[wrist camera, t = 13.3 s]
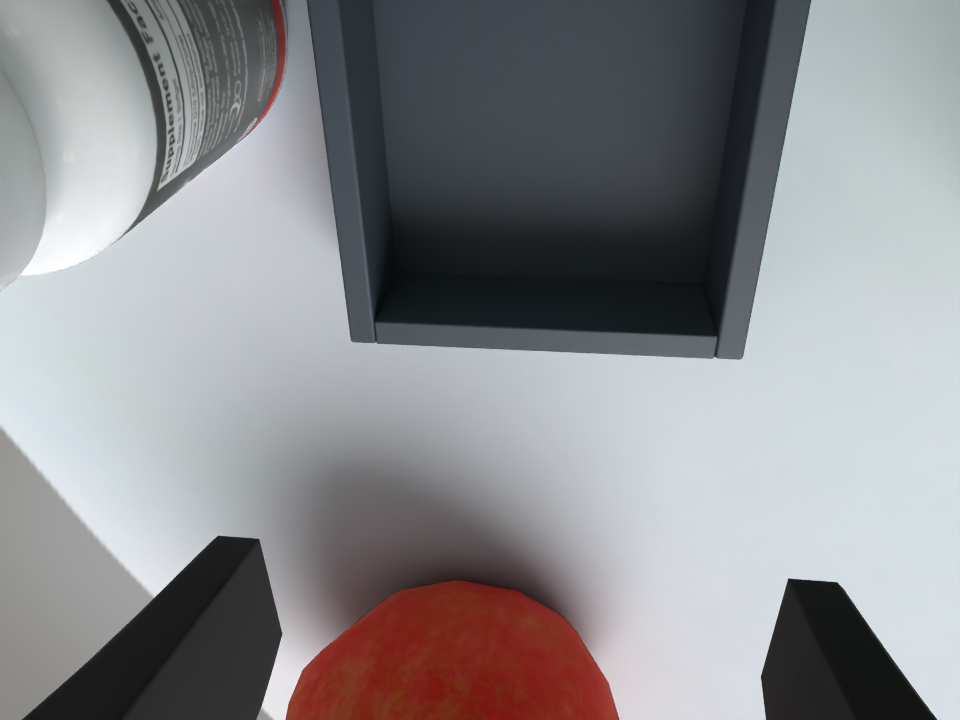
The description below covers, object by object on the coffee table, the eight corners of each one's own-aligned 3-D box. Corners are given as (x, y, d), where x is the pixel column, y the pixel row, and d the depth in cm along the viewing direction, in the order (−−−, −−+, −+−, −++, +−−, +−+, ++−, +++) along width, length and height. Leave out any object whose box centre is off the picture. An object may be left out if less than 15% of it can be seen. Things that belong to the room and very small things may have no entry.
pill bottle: (83, 140, 19) (-310, 355, 11) (9, -135, 16) (-623, -132, 8) (310, 151, 18) (83, 387, 10) (279, -131, 15) (-83, -122, 7)
